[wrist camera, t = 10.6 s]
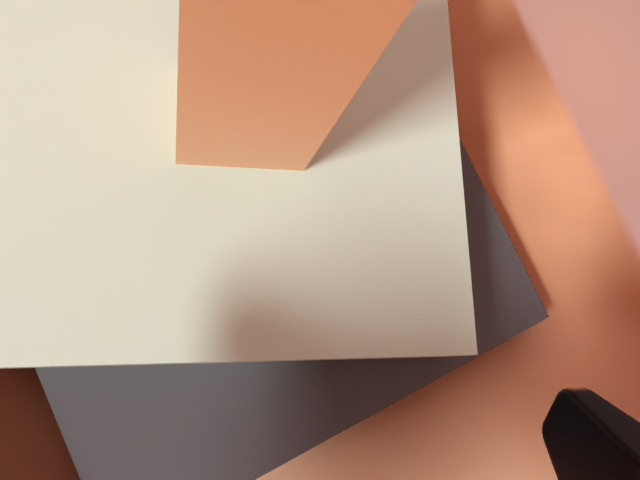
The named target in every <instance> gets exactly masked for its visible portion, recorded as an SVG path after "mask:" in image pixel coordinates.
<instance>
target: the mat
mask: <svg viewBox="0 0 640 480" xmlns="http://www.w3.org/2000/svg"><path fill="white" fill-rule="evenodd" d="M459 141H460V139H459ZM460 153H461V165H462V176H463V188H464V200H465V212H466V224H467V235H468V247H469V259H470V271H471V283H472V294H473V306H474V318H475V330H476V342H477V353H478V355H467V356H448V357H418V358H381V359H344V360H307V361H270V362H233V363H196V364H159V365H122V366H85V367H48V368H35V370H36V372H37V375H38V377H39V380H40V382H41V385H42V387H43V389H44V392H45V394H46V397H47V399H48V402H49V404H50V407H51V409H52V411H53V414H54V416H55V419H56V421H57V424H58V426H59V429H60V431H61V433H62V436H63V438H64V441H65V443H66V446H67V448H68V451H69V453H70V455H71V458H72V460H73V463H74V465H75V468H76V470H77V473H78V475H79V478H80V480H255V479H257V478H259V477H260V476H262V475H264V474H266V473H268V472H269V471H271V470H273V469H275V468H277V467H279V466H280V465H282V464H284V463H286V462H288V461H289V460H291V459H293V458H295V457H297V456H298V455H300V454H302V453H304V452H306V451H307V450H309V449H311V448H313V447H315V446H316V445H318V444H320V443H322V442H324V441H325V440H327V439H329V438H331V437H333V436H334V435H336V434H338V433H340V432H342V431H343V430H345V429H347V428H349V427H351V426H352V425H354V424H356V423H358V422H360V421H361V420H363V419H365V418H367V417H369V416H371V415H372V414H374V413H376V412H378V411H380V410H381V409H383V408H385V407H387V406H389V405H390V404H392V403H394V402H396V401H398V400H399V399H401V398H403V397H405V396H407V395H408V394H410V393H412V392H414V391H416V390H417V389H419V388H421V387H423V386H425V385H426V384H428V383H430V382H432V381H434V380H435V379H437V378H439V377H441V376H443V375H444V374H446V373H448V372H450V371H452V370H453V369H455V368H457V367H459V366H461V365H463V364H464V363H466V362H468V361H470V360H472V359H473V358H475V357H477V356H479V355H481V354H482V353H484V352H486V351H488V350H490V349H491V348H493V347H495V346H497V345H499V344H500V343H502V342H504V341H506V340H508V339H509V338H511V337H513V336H515V335H517V334H518V333H520V332H522V331H524V330H526V329H527V328H529V327H531V326H533V325H535V324H536V323H538V322H540V321H542V320H544V319H545V318H547V317H549V316H548V314H547V312H546V310H545V308H544V306H543V304H542V302H541V300H540V298H539V296H538V294H537V292H536V290H535V288H534V286H533V284H532V282H531V280H530V278H529V276H528V274H527V272H526V270H525V268H524V266H523V264H522V262H521V260H520V258H519V256H518V254H517V252H516V250H515V248H514V246H513V244H512V242H511V240H510V238H509V236H508V234H507V232H506V230H505V228H504V226H503V224H502V222H501V220H500V218H499V216H498V214H497V212H496V210H495V208H494V206H493V204H492V202H491V200H490V198H489V196H488V194H487V192H486V190H485V188H484V186H483V184H482V182H481V180H480V178H479V176H478V174H477V172H476V171H475V169H474V167H473V165H472V163H471V161H470V159H469V157H468V155H467V153H466V151H465V149H464V147H463V145H462V143H461V141H460Z"/></svg>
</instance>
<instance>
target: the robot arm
mask: <svg viewBox="0 0 640 480" xmlns="http://www.w3.org/2000/svg"><path fill="white" fill-rule="evenodd" d="M542 434H543V439H544V442H545V445H546V448H547V450H548V453H549V456H550V459H551V461H552V464H553V467H554V470H555V472H556V475H557V478H558V480H640V423H639V422H638V421H636V420H635V419H633V418H632V417H630V416H629V415H627V414H626V413H624V412H623V411H621V410H620V409H618V408H617V407H615V406H614V405H612V404H611V403H609V402H608V401H606V400H605V399H603V398H602V397H600V396H599V395H597V394H596V393H594V392H593V391H591V390H589V389H586V388H567V389H563V390H561V391H560V392H559V393H558V394H557V396H556V398H555V400H554V402H553V404H552V406H551V408H550V410H549V412H548V414H547V416H546V418H545V420H544V422H543V427H542Z"/></svg>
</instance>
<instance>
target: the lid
mask: <svg viewBox="0 0 640 480" xmlns="http://www.w3.org/2000/svg"><path fill="white" fill-rule="evenodd" d="M467 355H478V353H477V342H476V330H475V318H474V306H473V294H472V283H471V271H470V259H469V247H468V235H467V224H466V212H465V200H464V188H463V176H462V165H461V153H460V141H459V129H458V117H457V106H456V94H455V82H454V70H453V58H452V47H451V35H450V23H449V11H448V0H0V369H11V368H48V367H85V366H122V365H159V364H196V363H233V362H270V361H307V360H344V359H381V358H418V357H448V356H467Z"/></svg>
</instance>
